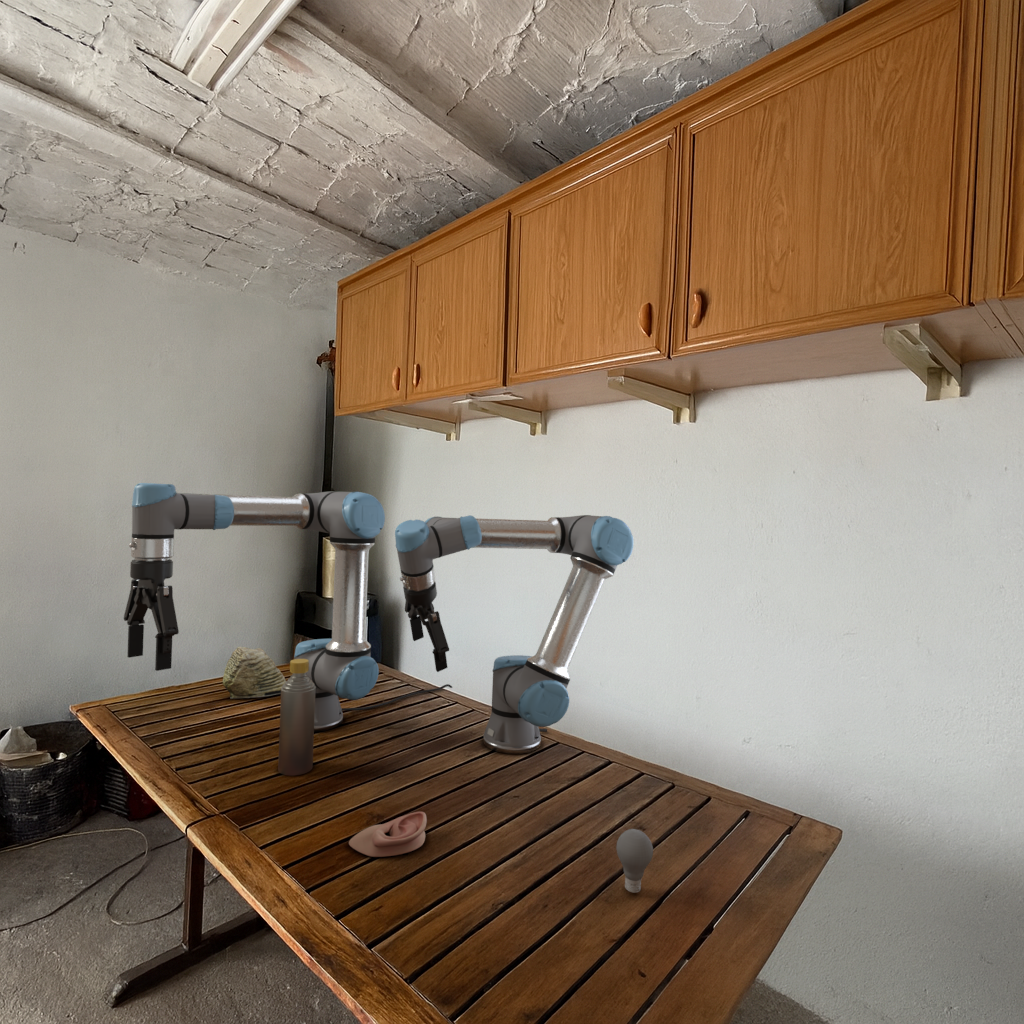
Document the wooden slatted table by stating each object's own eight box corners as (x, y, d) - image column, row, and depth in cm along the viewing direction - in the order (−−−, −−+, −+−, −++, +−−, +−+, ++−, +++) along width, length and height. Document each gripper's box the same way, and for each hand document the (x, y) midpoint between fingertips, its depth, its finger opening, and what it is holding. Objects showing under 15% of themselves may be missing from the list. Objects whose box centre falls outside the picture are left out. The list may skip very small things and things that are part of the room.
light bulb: (610, 879, 108) (613, 822, 108) (644, 879, 109) (647, 822, 109) (619, 902, 102) (622, 840, 102) (655, 901, 103) (658, 840, 103)
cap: (289, 669, 148) (290, 659, 148) (308, 668, 149) (308, 658, 149) (289, 674, 144) (290, 663, 144) (308, 673, 145) (309, 662, 145)
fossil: (218, 695, 195) (220, 647, 195) (278, 685, 208) (279, 640, 207) (228, 703, 189) (230, 653, 188) (289, 692, 201) (290, 645, 201)
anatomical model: (341, 830, 113) (368, 800, 124) (340, 851, 113) (367, 820, 124) (411, 841, 110) (433, 810, 122) (411, 863, 111) (432, 830, 122)
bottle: (278, 763, 149) (282, 659, 149) (312, 760, 152) (316, 657, 151) (277, 777, 142) (281, 667, 142) (313, 773, 145) (317, 666, 144)
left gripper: (108, 554, 134) (104, 654, 134) (159, 565, 118) (155, 678, 119) (146, 552, 140) (143, 648, 140) (199, 563, 124) (195, 671, 124)
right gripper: (384, 564, 155) (396, 632, 165) (427, 616, 136) (438, 689, 146) (412, 554, 158) (422, 621, 168) (458, 604, 139) (466, 676, 149)
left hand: (148, 662), depth 129 cm, fingers open, 13 cm apart
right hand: (429, 653), depth 157 cm, fingers open, 13 cm apart
